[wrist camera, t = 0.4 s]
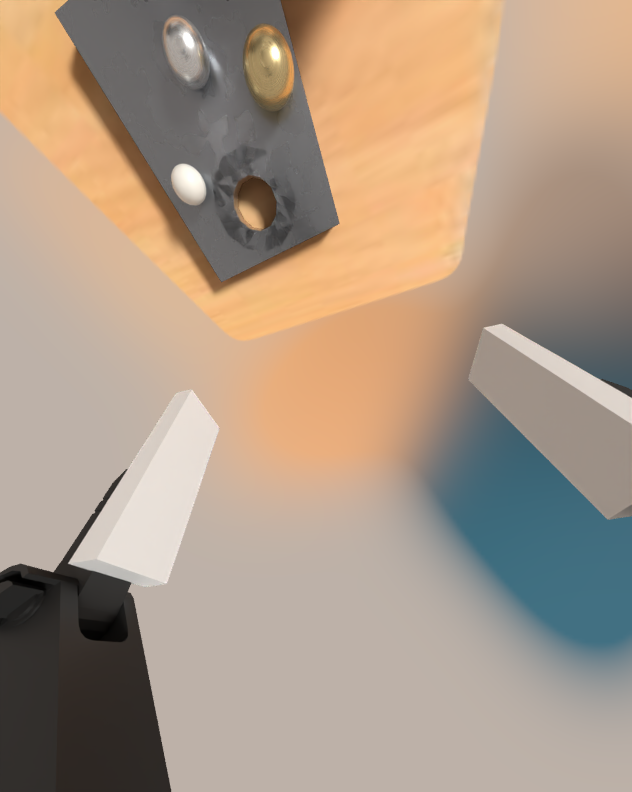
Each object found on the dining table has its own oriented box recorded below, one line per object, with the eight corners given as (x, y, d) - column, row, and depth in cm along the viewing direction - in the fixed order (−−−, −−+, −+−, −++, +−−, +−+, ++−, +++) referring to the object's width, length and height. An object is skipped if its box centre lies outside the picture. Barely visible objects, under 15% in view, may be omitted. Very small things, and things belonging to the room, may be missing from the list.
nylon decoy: (171, 175, 23) (157, 171, 20) (196, 159, 22) (185, 153, 20) (192, 211, 25) (181, 211, 22) (216, 197, 24) (207, 196, 22)
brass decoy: (237, 59, 19) (226, 29, 16) (281, 28, 18) (277, -9, 15) (262, 127, 21) (256, 113, 18) (301, 103, 20) (302, 84, 17)
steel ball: (163, 45, 18) (142, 19, 16) (196, 19, 18) (180, -12, 15) (191, 104, 20) (177, 90, 18) (222, 83, 20) (212, 65, 17)
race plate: (79, 32, 19) (54, 12, 17) (246, -110, 16) (239, -154, 14) (225, 277, 31) (221, 282, 29) (336, 222, 28) (339, 223, 26)
